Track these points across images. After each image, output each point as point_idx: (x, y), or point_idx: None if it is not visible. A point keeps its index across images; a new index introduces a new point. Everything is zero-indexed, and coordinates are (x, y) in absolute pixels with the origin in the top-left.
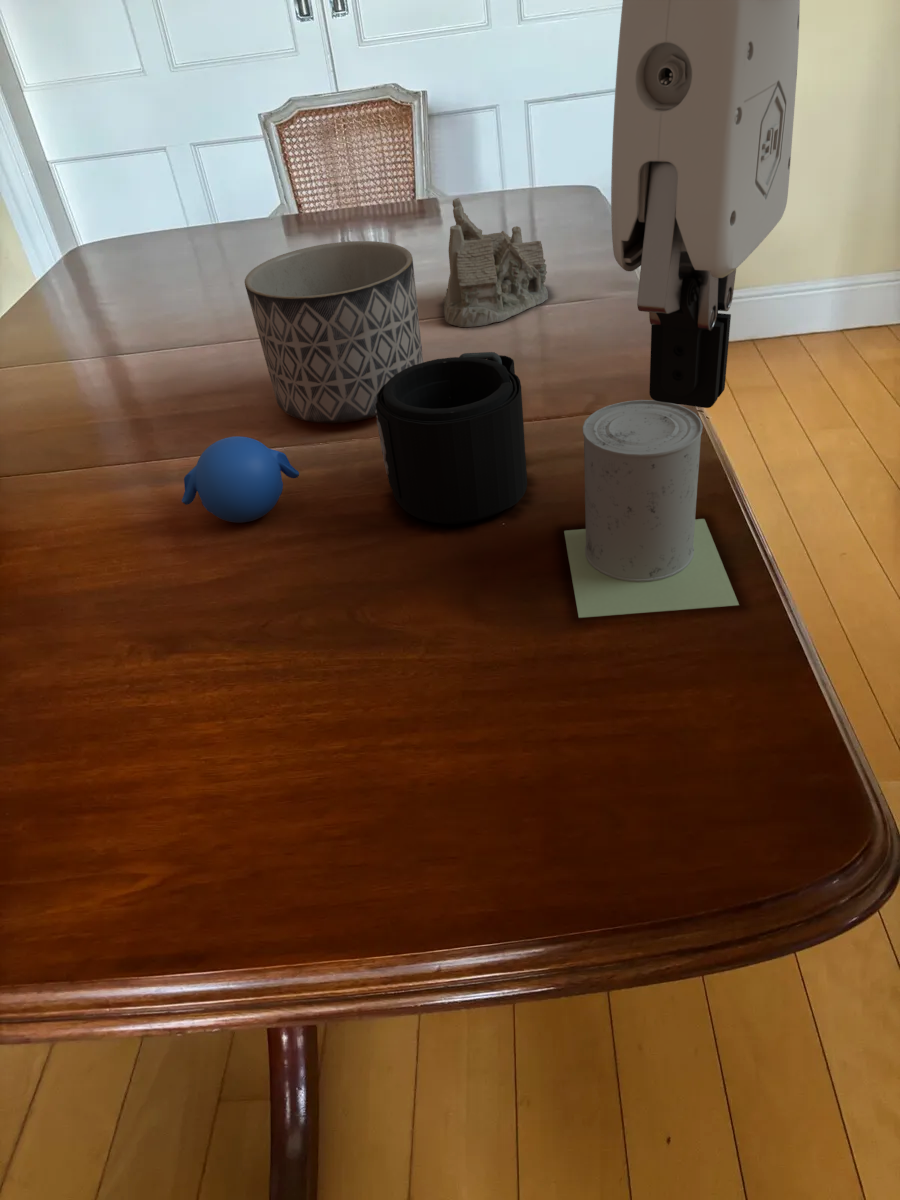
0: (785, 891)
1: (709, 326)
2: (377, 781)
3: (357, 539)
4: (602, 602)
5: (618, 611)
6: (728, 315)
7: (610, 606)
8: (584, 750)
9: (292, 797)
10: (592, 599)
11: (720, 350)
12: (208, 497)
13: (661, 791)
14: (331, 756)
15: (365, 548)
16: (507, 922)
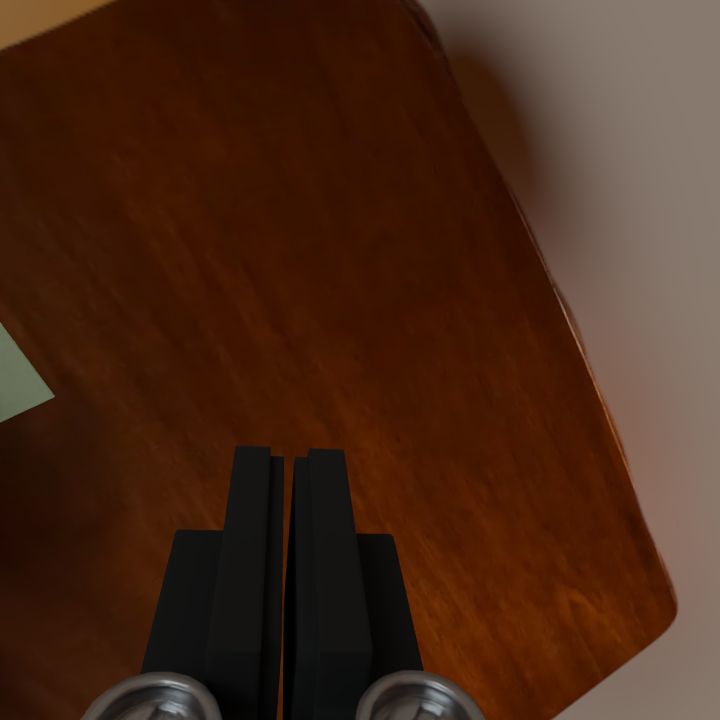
0: (417, 26)
1: (460, 697)
2: (412, 487)
3: (40, 701)
4: (5, 378)
5: (13, 352)
6: (229, 656)
7: (8, 365)
8: (291, 308)
9: (456, 546)
10: (6, 393)
11: (338, 564)
12: None
13: (320, 203)
14: (396, 542)
15: (53, 684)
16: (536, 302)
